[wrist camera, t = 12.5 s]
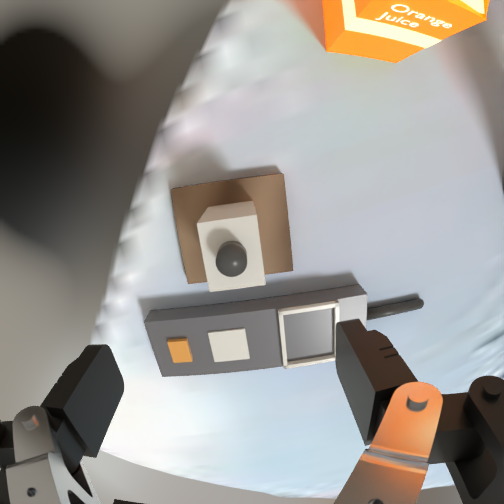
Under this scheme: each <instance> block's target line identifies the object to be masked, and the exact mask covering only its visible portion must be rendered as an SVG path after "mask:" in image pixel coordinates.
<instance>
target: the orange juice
mask: <svg viewBox="0 0 504 504" xmlns="http://www.w3.org/2000/svg"><path fill="white" fill-rule="evenodd" d="M322 1H323V12H324V24H325V37H326V51H327V52H335V53H343V54H350V55H356V56H362V57H368V58H374V59H379V60H384V61H389V62H394V63H397V62H399V61H401V60H403V59H404V58H406V57H408V56H410V55H412V54H414V53H416V52H418V51H420V50H422V49H424V48H427V47H429V46H432V45H434V44H436V43H438V42H440V41H442V39H445V38H447V37H449V36H451V35H453V34H455V33H458V32H460V31H462V30H464V29H467V28H469V27H471V26H473V25H476V24H478V23H480V22H483V21H485V20H487V19H486V13H487V9H488V4H489V0H322Z"/></svg>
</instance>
